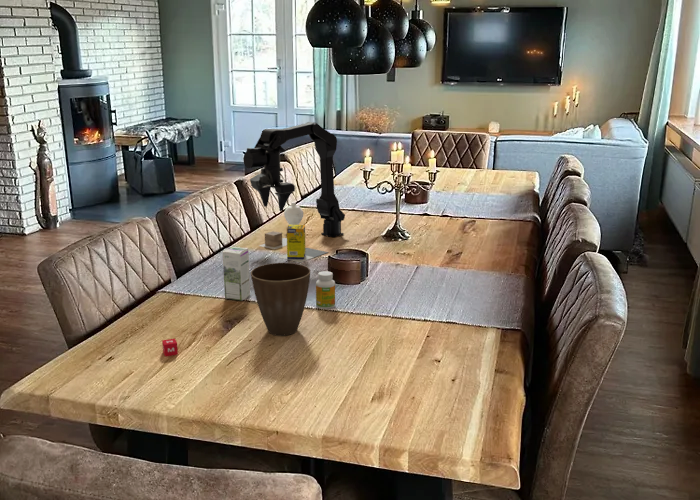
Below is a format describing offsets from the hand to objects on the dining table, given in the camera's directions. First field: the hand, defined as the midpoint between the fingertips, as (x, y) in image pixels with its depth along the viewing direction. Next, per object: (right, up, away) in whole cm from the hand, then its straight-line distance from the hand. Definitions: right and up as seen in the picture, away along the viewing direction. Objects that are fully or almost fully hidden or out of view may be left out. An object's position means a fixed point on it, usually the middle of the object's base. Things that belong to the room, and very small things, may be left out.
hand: (273, 208), depth 250 cm
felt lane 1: (+1, -13, +10) cm, 16 cm away
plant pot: (+10, -36, -71) cm, 80 cm away
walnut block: (-1, -13, +7) cm, 15 cm away
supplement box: (+9, -17, -8) cm, 21 cm away
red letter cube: (-15, -40, -84) cm, 94 cm away
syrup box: (-5, -29, -47) cm, 55 cm away
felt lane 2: (+12, -16, -4) cm, 21 cm away
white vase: (+5, -8, +27) cm, 29 cm away
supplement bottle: (+21, -31, -54) cm, 65 cm away
